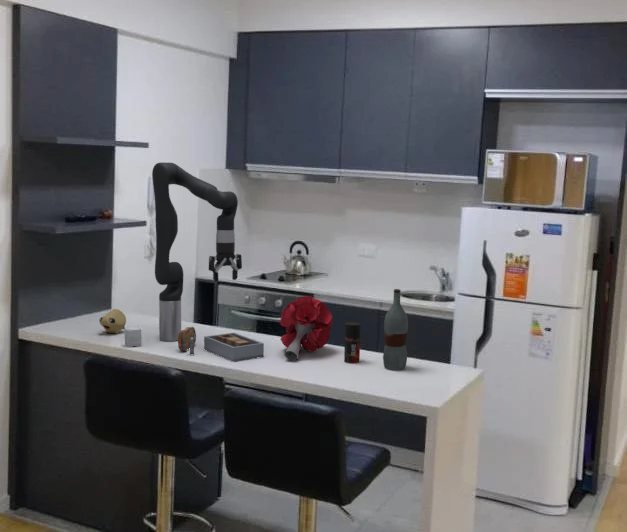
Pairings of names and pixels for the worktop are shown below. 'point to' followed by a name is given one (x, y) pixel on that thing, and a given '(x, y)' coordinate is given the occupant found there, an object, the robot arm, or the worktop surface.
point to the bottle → (395, 335)
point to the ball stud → (191, 345)
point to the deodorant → (352, 342)
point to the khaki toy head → (113, 321)
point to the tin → (186, 338)
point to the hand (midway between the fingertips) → (225, 280)
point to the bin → (234, 348)
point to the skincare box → (133, 336)
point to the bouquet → (305, 326)
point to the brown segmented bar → (231, 340)
